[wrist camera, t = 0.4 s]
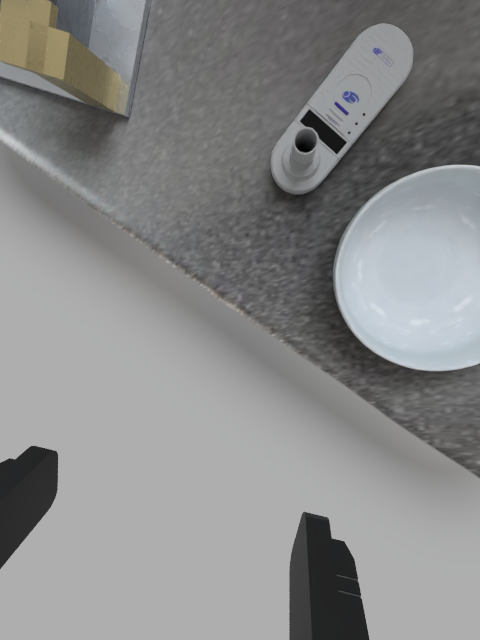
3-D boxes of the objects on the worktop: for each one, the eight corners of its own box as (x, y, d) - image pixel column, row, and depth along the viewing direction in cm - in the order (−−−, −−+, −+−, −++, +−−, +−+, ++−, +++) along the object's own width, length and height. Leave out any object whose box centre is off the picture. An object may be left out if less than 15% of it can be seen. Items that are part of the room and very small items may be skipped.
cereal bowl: (541, 200, 32) (608, 194, 26) (464, 363, 37) (503, 395, 31) (357, 155, 33) (375, 138, 27) (305, 320, 38) (309, 342, 31)
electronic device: (474, -4, 22) (308, 197, 26) (416, 67, 31) (301, 206, 35) (410, -65, 22) (251, 148, 25) (371, 25, 31) (260, 170, 35)
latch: (70, 42, 33) (2, -14, 25) (124, 58, 33) (72, 8, 25) (62, 95, 34) (-4, 59, 26) (114, 112, 34) (63, 80, 26)
